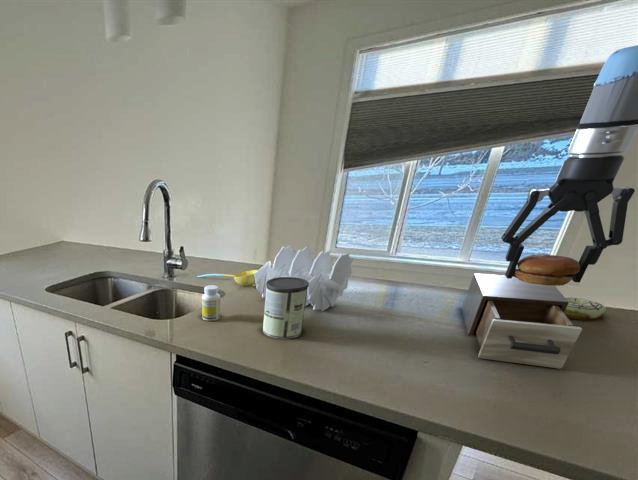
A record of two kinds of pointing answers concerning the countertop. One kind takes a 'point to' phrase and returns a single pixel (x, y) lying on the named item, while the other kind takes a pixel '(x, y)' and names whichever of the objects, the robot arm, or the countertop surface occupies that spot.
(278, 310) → the coffee can
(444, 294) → the countertop surface
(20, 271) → the countertop surface
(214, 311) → the supplement bottle
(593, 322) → the countertop surface
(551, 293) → the cabinet
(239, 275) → the ladle
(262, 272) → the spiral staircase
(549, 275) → the burger
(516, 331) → the drawer
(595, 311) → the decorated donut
